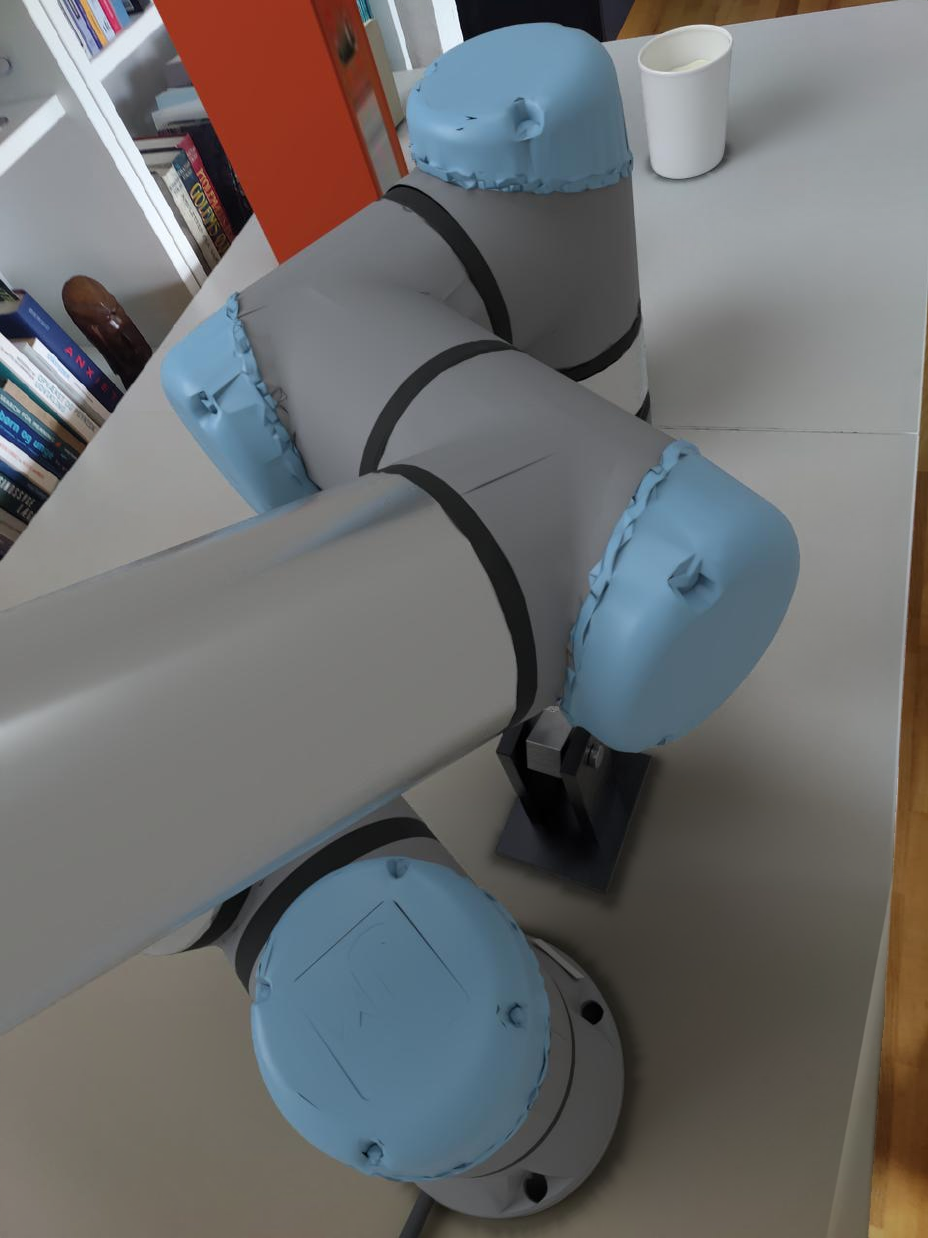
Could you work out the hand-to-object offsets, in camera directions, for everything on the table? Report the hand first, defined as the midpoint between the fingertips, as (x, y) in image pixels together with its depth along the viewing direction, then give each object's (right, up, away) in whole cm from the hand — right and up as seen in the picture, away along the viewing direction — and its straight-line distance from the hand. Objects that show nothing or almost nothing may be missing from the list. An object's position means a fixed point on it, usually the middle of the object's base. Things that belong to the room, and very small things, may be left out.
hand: (614, 630), depth 58 cm
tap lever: (-3, -5, -3) cm, 6 cm away
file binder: (-24, +46, +47) cm, 70 cm away
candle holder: (+16, +55, +41) cm, 70 cm away
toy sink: (-24, +70, +63) cm, 97 cm away
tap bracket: (-2, -13, +2) cm, 13 cm away
